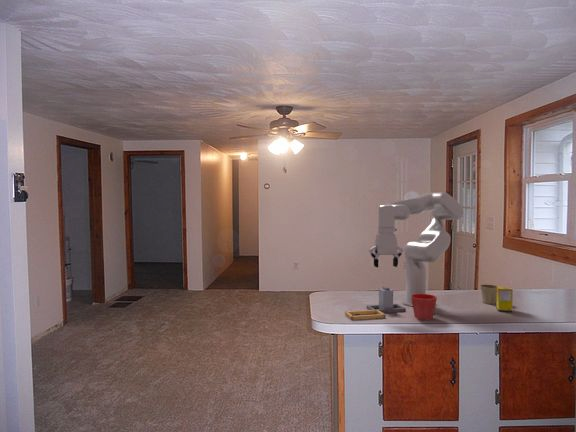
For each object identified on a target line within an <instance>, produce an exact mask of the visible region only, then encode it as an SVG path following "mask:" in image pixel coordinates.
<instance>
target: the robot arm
mask: <svg viewBox="0 0 576 432" xmlns="http://www.w3.org/2000/svg"><path fill="white" fill-rule="evenodd" d="M428 211H430V223H429V224H428V226H427V227H426V228H425V229H424V230H423V231H422V232H421V233H420V234H419V236H418V238H417V241H414V240H413V241H409V242H407V243H406V245H405V246H404V248H402V247H400V246H398V240H397V235H396V232H397V231H398V229H397V228H396V227H395V226H396V225H395V221H405V220H407V219H409V218H410V216H411V215H414V216H415V215H420V214H422V213H425V212H428ZM463 215H464V208H463V206H462V204H460V203H459V202H458V200H456V199H455V198H454V197H453V196H452V195H451V194H448V193H447V192H444V191H443V192H440V191H439V192H428V193H424V194H421V195H419V196H415V197H412V198H407V199H403V200H398V201H397V200H396V201H394V202H391V203H387V204H381V205H378V221H377V222H378V223H377V224H378V232H377V233H376V234H375V237H374V238H375V240H374V246H372V247H370V248H369V249H368V253H369V255H370V256H371V257H372V258H373V266H374V268H379V259H378V258H379V257H380V256H393V258H392V266H393V267H395V268H398V265H399V259H400V257H401V256H402V255H403V252H404V259H405V299H402V303H403V304H404V305H406V306H409V307H410V306H411V307H413V305H412V299H411V295H413V294H426V287H427V285H426V283H427V281H426V278H427V277H426V274H427V273H426V272H427V271H426V269H427V268H426V265H425V263H434V262H436V261H438V260H439V259H440V257H442V255H443V254H444V253H446V251H447V250H448V248H449V247H450V245H451V239H452V238H451V235H450V234H449V232H447V231H446V225H445V224H444V220H445V221H446V220H447V221H457V220H459V219H461V218H462V217H463ZM424 262H425V263H424Z"/></svg>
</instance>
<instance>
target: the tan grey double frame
mask: <svg viewBox="0 0 576 432" xmlns="http://www.w3.org/2000/svg"><path fill="white" fill-rule="evenodd" d="M395 307H396V308H395ZM375 308H378V309H375ZM406 310H407V309H406V307H405V306H403V305H400V304H399V303H393V308H392V309H379V304H369V305H367V304H366V309H362V310H350V311H348V310H347V311H346V310H345V311H344V316H345V317H347V318H348V319H349V320H351V321H355V320H356V321H357V320H358V321H359V320H360V319H361V320H372V319H373V320H375V319H376V318H377V319H386V314H387V313H386V312H388V313H401V312H404V313H405V312H406ZM374 313H377V314H374ZM355 314H360V315H355Z"/></svg>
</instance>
